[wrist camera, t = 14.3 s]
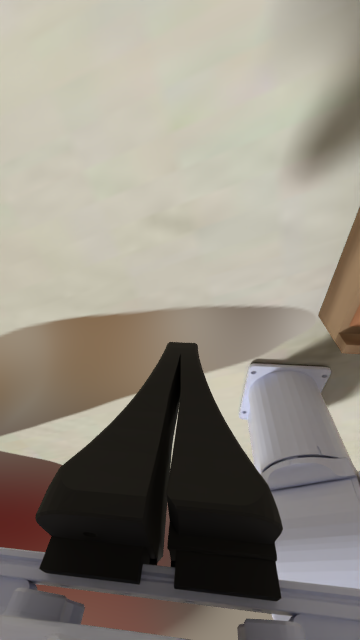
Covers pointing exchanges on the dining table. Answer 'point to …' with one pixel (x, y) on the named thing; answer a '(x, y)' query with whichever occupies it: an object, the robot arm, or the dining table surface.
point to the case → (345, 296)
